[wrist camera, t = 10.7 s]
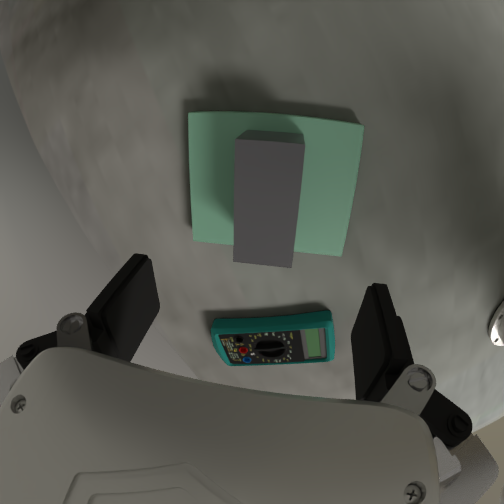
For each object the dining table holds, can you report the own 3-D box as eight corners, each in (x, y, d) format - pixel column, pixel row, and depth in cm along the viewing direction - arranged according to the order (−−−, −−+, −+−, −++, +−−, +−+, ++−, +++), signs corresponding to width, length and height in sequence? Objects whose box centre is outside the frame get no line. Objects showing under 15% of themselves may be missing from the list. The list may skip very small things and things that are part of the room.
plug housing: (303, 134, 21) (305, 144, 17) (292, 237, 26) (291, 268, 22) (246, 129, 21) (234, 139, 17) (243, 232, 26) (233, 261, 22)
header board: (360, 123, 21) (374, 131, 17) (339, 248, 27) (345, 275, 23) (194, 111, 22) (174, 116, 18) (198, 233, 29) (183, 257, 25)
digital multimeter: (210, 315, 35) (204, 332, 33) (332, 306, 32) (334, 324, 29) (226, 352, 39) (221, 369, 36) (334, 346, 35) (335, 364, 33)
